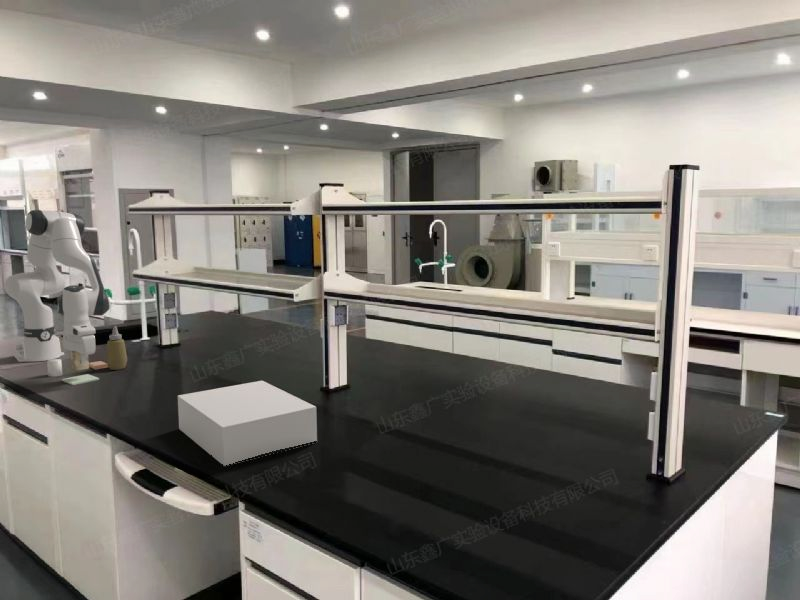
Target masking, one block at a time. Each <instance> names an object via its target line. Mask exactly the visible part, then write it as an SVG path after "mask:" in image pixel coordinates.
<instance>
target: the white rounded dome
mask: <svg viewBox="0 0 800 600" xmlns="http://www.w3.org/2000/svg"><path fill="white" fill-rule="evenodd" d="M46 365H47V375H48V377H50V378H52V377H59V376H63V364H62V359H61V358H56V359H51V360H46Z"/></svg>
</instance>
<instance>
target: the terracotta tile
mask: <svg viewBox="0 0 800 600" xmlns="http://www.w3.org/2000/svg"><path fill="white" fill-rule="evenodd" d="M105 368H109V366H108V363H107V362H105V361H102V360H100V361H99V360H98V361H92V362H89V369H93V370H100V369H105Z"/></svg>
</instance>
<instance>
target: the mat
mask: <svg viewBox="0 0 800 600" xmlns="http://www.w3.org/2000/svg"><path fill="white" fill-rule="evenodd" d="M99 380H100V378H99V377H97V376H94V375H92V374H89V373H87V374H86V373H85V374H82V375H77V376H71V377H67V378H62V379H61V381H62V382H64V383H67V384H69V385H71V386H75V385H81V384H85V383H92V382H95V381H99Z"/></svg>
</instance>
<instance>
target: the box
mask: <svg viewBox="0 0 800 600" xmlns="http://www.w3.org/2000/svg"><path fill="white" fill-rule="evenodd" d="M177 412H178V413H177V414H178V429H179V430H180V431H181V432H183V433H184V434H185V435H186V436H187V437H188V438H190V439H191V440H192V441H193V442H194V443H195V444H197V445H198V447H200V448H202V449H203V451H204V450H205V452H207V453H208V454H209V455H210V456H211V455H212V457H213V458H214V459H215V460H216V461H218V463H220V464H221V465H222V464H223V465H222V466H223V467H227V466H230V465H229V464H231V465H233V463H234V464H236V463H235V462H238V461H242V460H245V459H248V458H252V457H255V456H258V455H261V454H265V453H269V452H272V451H276V450H280V449H285V448H289V447H294V446H298V445H302V444H306V443H310V442H314V441H317V442H318V427H317V426H318V425H317V423H318V422H317V420H318V419H317V406H316V405H313V404H312V403H309V402H308V401H305V400H303V399H301V398H299V397H297V396H295V395H293V394H291V393H288V392H287V391H285V390H282V389H280V388H278V387H276V386H274V385H272V384H271V383H268V382H266V381H264V380H258V381H252V382H247V383H241V384H235V385H230V386H224V387H218V388H213V389H207V390H201V391H196V392H195V391H194V392H191V393H184V394H179V395H177ZM242 462H243V461H242ZM238 463H239V462H238ZM226 465H227V466H226Z"/></svg>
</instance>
